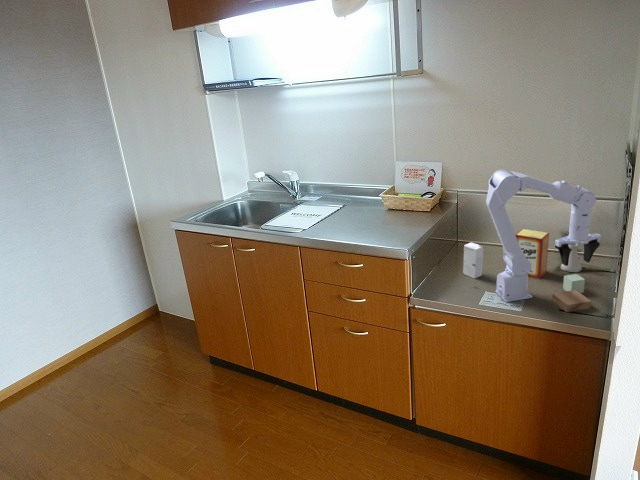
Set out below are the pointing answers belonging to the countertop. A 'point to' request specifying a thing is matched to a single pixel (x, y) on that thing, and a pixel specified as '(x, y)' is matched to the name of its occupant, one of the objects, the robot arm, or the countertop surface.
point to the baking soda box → (534, 250)
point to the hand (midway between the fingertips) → (575, 262)
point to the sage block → (574, 283)
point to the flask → (572, 260)
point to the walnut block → (571, 301)
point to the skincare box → (473, 260)
